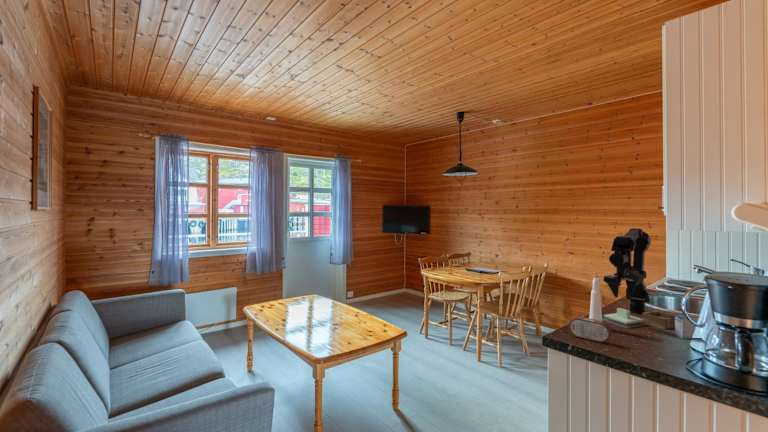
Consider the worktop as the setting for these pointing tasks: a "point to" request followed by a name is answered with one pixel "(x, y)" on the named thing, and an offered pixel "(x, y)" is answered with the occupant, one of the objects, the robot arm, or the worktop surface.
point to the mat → (623, 324)
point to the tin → (590, 329)
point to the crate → (659, 319)
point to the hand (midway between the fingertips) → (623, 296)
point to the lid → (623, 317)
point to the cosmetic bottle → (595, 301)
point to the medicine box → (684, 326)
